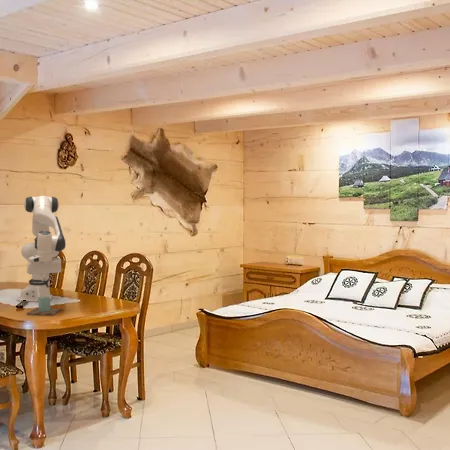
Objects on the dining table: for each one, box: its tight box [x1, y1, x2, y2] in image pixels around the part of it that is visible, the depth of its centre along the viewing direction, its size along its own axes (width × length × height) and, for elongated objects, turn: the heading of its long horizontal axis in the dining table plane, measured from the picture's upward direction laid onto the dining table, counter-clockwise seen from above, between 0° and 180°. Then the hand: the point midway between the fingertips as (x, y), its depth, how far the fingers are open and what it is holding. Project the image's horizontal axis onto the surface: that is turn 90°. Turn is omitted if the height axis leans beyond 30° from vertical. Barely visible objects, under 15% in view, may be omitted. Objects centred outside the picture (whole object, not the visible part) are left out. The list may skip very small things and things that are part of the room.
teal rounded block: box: [37, 296, 51, 312], centre depth 366 cm, size 5×6×8 cm
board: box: [26, 307, 63, 317], centre depth 366 cm, size 16×16×6 cm
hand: (44, 280), depth 365 cm, fingers closed
